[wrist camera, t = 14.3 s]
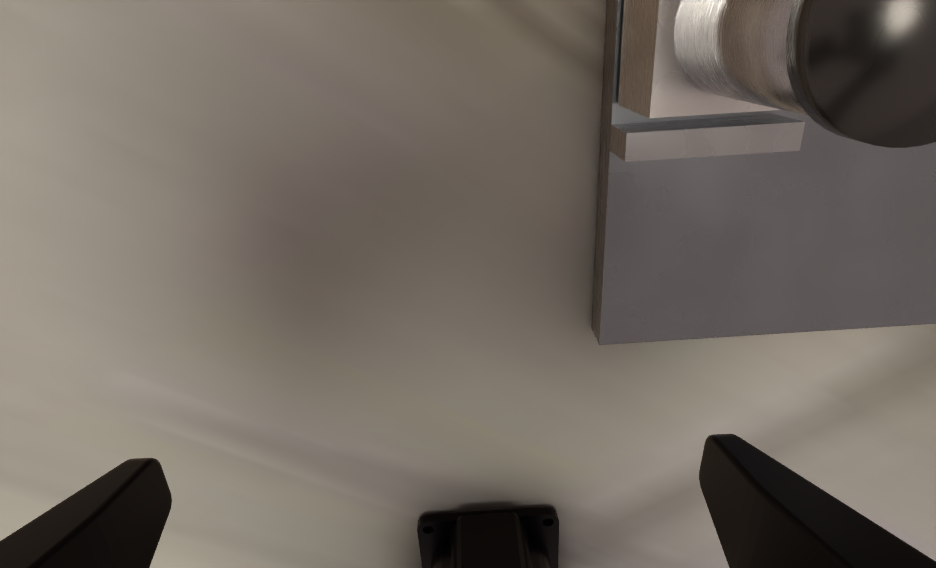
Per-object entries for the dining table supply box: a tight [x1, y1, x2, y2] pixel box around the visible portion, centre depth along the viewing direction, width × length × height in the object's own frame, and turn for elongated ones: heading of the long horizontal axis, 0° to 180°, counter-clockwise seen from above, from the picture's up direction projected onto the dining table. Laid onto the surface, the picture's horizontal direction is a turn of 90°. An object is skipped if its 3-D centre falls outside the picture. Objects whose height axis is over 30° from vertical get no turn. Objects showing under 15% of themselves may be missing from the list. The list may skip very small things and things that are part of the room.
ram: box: [618, 0, 936, 148], centre depth 11 cm, size 4×7×8 cm, turn 93°
